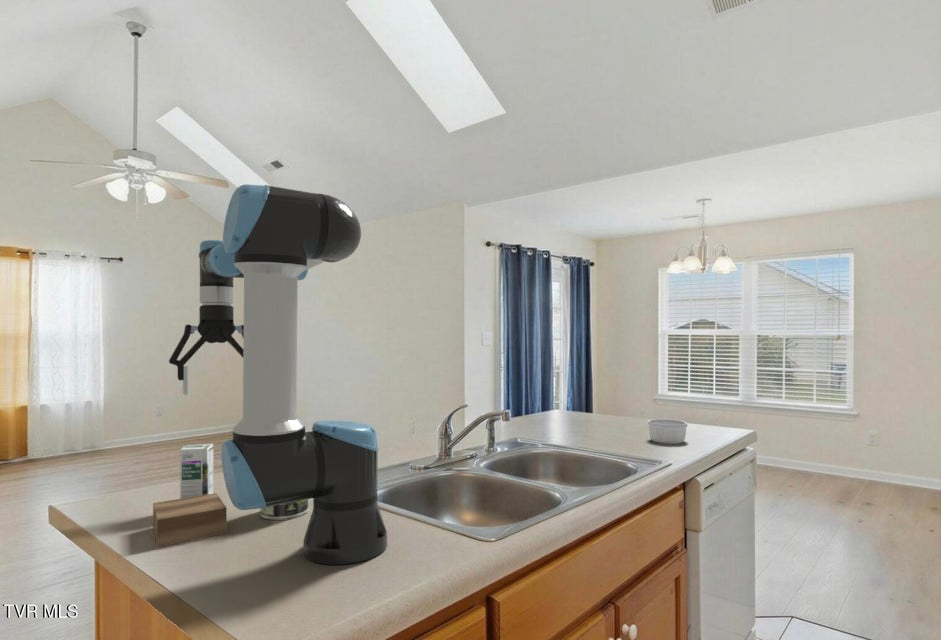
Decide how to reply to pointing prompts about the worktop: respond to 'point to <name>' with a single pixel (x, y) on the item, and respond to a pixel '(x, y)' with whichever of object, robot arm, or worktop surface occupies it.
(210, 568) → the worktop surface
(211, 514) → the plinth
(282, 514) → the coffee can
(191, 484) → the syrup box
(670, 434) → the ramekin
